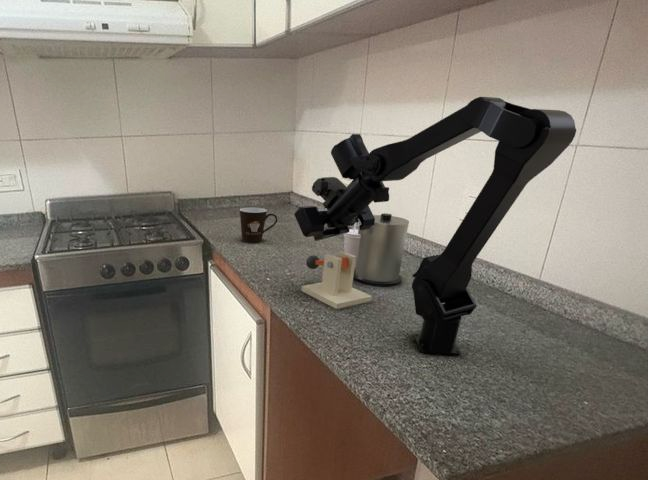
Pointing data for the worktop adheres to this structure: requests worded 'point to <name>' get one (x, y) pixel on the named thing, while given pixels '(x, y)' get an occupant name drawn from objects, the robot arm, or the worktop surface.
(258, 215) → the coffee mug
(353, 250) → the smoothie
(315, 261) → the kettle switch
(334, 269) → the knobbed lever stand
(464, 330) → the worktop surface
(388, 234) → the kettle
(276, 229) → the worktop surface
